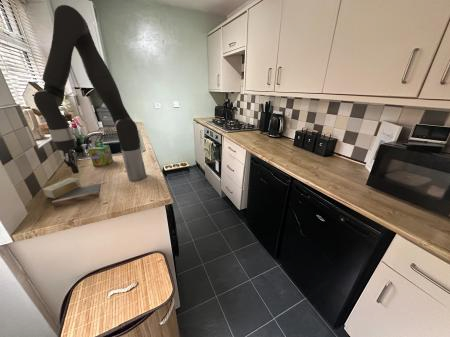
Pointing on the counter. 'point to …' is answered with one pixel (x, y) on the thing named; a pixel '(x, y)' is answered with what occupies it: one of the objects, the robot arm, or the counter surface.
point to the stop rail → (74, 199)
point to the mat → (81, 191)
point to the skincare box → (61, 187)
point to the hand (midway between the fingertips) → (76, 172)
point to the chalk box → (100, 154)
